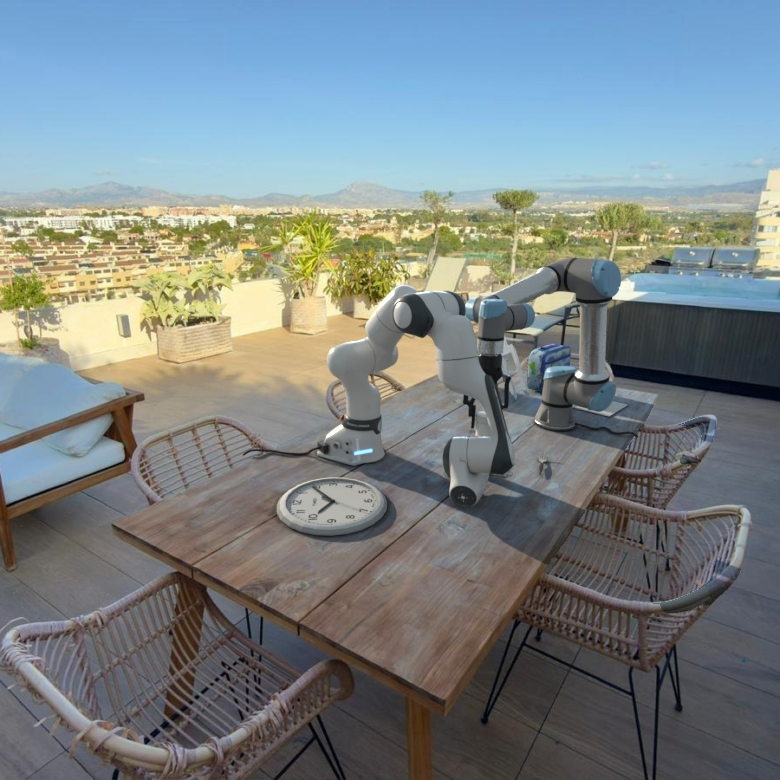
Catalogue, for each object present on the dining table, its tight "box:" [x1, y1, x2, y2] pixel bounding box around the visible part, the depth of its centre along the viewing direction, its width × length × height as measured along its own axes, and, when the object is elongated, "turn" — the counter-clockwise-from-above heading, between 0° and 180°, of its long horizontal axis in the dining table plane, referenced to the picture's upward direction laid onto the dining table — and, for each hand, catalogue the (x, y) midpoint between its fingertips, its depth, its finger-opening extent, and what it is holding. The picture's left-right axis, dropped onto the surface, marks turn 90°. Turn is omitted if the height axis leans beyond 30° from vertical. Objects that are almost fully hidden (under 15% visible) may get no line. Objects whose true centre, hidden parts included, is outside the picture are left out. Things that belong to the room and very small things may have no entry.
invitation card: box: [573, 400, 629, 418], centre depth 226 cm, size 21×1×15 cm
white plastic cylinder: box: [475, 420, 491, 436], centre depth 160 cm, size 5×5×19 cm
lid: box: [475, 410, 488, 424], centre depth 157 cm, size 5×5×2 cm
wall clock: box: [276, 476, 388, 537], centre depth 142 cm, size 30×2×30 cm
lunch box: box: [526, 343, 572, 394], centre depth 248 cm, size 26×11×21 cm, turn 135°
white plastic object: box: [501, 333, 531, 400], centre depth 245 cm, size 37×45×31 cm
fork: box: [538, 451, 548, 475], centre depth 168 cm, size 3×16×2 cm, turn 160°
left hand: (482, 453), depth 162 cm, fingers closed on white plastic cylinder, 5 cm apart
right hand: (483, 427), depth 158 cm, fingers open, 6 cm apart
